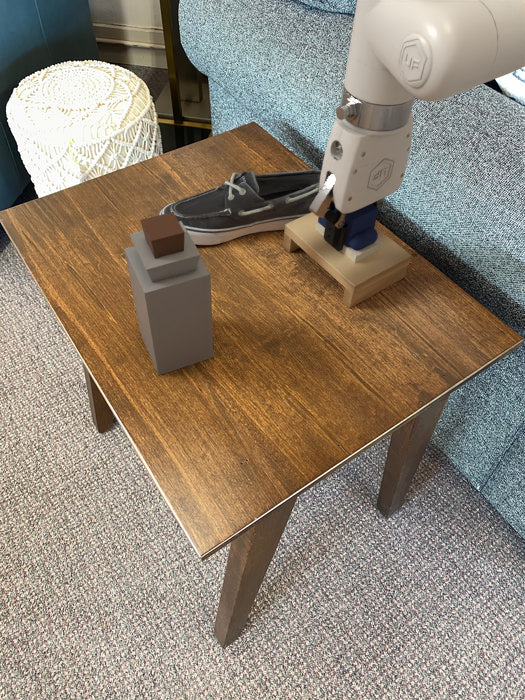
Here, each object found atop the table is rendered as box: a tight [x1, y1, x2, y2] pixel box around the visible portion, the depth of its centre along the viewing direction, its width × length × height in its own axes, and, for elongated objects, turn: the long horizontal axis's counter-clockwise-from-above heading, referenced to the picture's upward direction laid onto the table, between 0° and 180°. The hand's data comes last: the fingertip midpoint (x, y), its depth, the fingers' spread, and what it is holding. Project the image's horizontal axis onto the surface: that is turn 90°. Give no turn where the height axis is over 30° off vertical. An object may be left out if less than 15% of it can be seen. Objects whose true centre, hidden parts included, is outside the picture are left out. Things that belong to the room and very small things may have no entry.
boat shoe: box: [159, 168, 322, 246], centre depth 79 cm, size 24×9×8 cm, turn 101°
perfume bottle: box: [123, 212, 214, 376], centre depth 60 cm, size 7×7×18 cm
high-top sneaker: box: [315, 204, 382, 263], centre depth 72 cm, size 8×4×6 cm, turn 36°
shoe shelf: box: [282, 213, 412, 309], centre depth 76 cm, size 14×10×4 cm
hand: (348, 236), depth 74 cm, fingers closed on high-top sneaker, 4 cm apart
